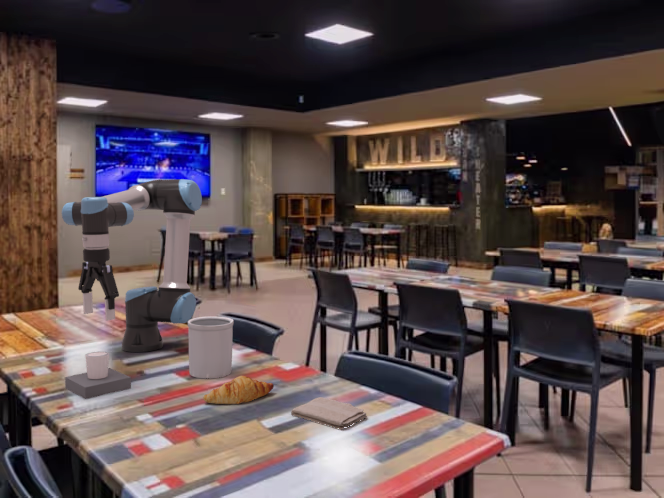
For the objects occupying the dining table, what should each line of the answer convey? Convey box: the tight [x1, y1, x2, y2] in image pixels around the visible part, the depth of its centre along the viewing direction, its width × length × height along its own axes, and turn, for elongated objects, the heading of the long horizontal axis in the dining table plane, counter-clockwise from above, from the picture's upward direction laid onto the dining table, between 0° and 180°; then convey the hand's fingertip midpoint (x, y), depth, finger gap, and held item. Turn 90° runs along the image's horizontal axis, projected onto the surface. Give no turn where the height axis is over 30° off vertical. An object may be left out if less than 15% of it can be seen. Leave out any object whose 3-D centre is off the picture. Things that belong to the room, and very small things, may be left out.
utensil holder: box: [187, 315, 235, 379], centre depth 198 cm, size 15×15×18 cm
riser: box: [64, 367, 132, 400], centre depth 182 cm, size 14×14×4 cm
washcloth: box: [290, 396, 368, 430], centre depth 160 cm, size 12×18×3 cm, turn 54°
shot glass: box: [84, 351, 110, 379], centre depth 182 cm, size 7×7×7 cm
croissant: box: [202, 375, 275, 405], centre depth 173 cm, size 21×10×8 cm, turn 119°
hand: (99, 316), depth 185 cm, fingers open, 13 cm apart
